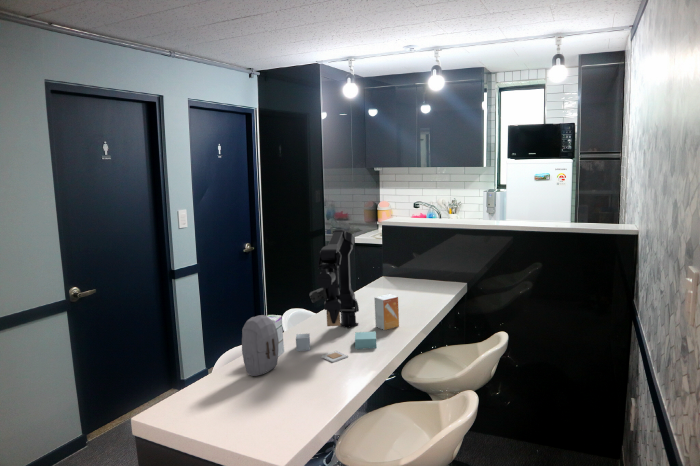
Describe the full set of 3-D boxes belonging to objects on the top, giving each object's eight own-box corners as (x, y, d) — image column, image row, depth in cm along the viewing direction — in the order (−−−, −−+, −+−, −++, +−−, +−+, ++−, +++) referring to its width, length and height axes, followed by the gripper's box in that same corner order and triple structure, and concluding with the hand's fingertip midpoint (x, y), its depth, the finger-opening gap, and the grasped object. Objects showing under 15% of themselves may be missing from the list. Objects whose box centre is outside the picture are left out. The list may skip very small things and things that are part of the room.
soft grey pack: (268, 362, 184) (264, 308, 182) (287, 365, 180) (283, 310, 177) (240, 378, 172) (234, 321, 169) (259, 382, 167) (254, 323, 165)
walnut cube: (327, 322, 198) (326, 309, 197) (340, 321, 198) (339, 309, 197) (327, 326, 193) (326, 313, 192) (340, 325, 193) (339, 312, 192)
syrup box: (284, 351, 194) (282, 314, 192) (277, 357, 188) (274, 319, 186) (271, 350, 196) (268, 314, 194) (264, 356, 190) (260, 318, 188)
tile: (321, 357, 186) (321, 355, 186) (336, 352, 190) (336, 350, 190) (332, 362, 181) (332, 360, 181) (348, 357, 185) (348, 355, 185)
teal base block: (355, 342, 201) (355, 332, 200) (376, 341, 200) (375, 331, 200) (355, 349, 193) (354, 339, 192) (376, 348, 192) (376, 338, 192)
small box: (384, 330, 211) (383, 300, 209) (375, 327, 216) (373, 297, 215) (399, 326, 216) (398, 296, 214) (390, 322, 221) (389, 293, 219)
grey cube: (297, 346, 199) (296, 334, 198) (310, 345, 199) (309, 333, 198) (296, 351, 194) (295, 338, 193) (309, 350, 194) (309, 337, 193)
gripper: (310, 277, 202) (313, 315, 204) (308, 288, 184) (311, 330, 186) (339, 275, 203) (341, 313, 205) (339, 286, 184) (342, 328, 186)
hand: (333, 321), depth 195 cm, fingers closed on walnut cube, 5 cm apart
